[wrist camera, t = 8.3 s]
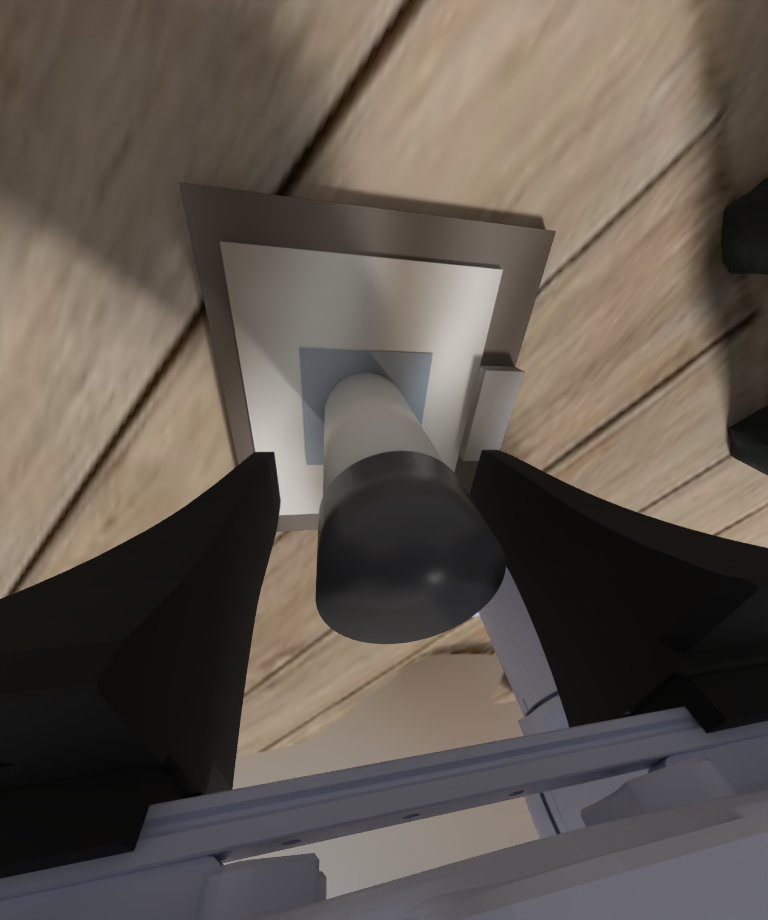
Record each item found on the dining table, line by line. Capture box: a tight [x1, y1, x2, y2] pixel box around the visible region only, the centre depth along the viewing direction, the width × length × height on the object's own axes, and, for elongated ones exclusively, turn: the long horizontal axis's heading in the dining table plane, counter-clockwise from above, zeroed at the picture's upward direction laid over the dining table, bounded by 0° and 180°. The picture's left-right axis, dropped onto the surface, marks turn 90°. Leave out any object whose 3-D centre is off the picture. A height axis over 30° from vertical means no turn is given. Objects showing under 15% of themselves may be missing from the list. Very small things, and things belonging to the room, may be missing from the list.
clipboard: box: [180, 183, 556, 532], centre depth 15 cm, size 14×16×2 cm
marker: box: [316, 373, 506, 644], centre depth 11 cm, size 4×4×10 cm
